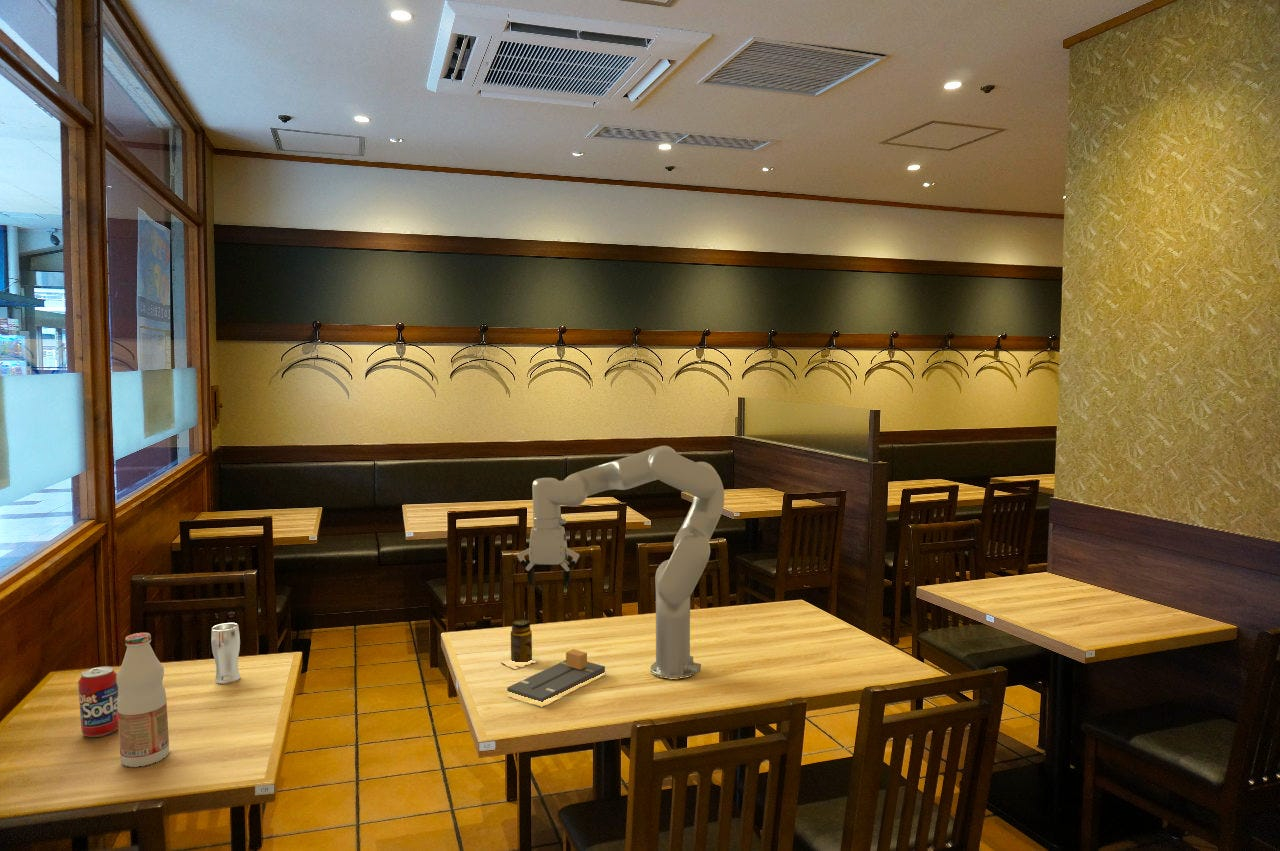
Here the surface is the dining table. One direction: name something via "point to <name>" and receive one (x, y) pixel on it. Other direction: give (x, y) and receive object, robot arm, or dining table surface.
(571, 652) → the fader tab
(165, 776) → the dining table surface
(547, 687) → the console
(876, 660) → the dining table surface
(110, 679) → the soda can
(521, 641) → the condiment
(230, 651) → the beer glass
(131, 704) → the fruit juice
